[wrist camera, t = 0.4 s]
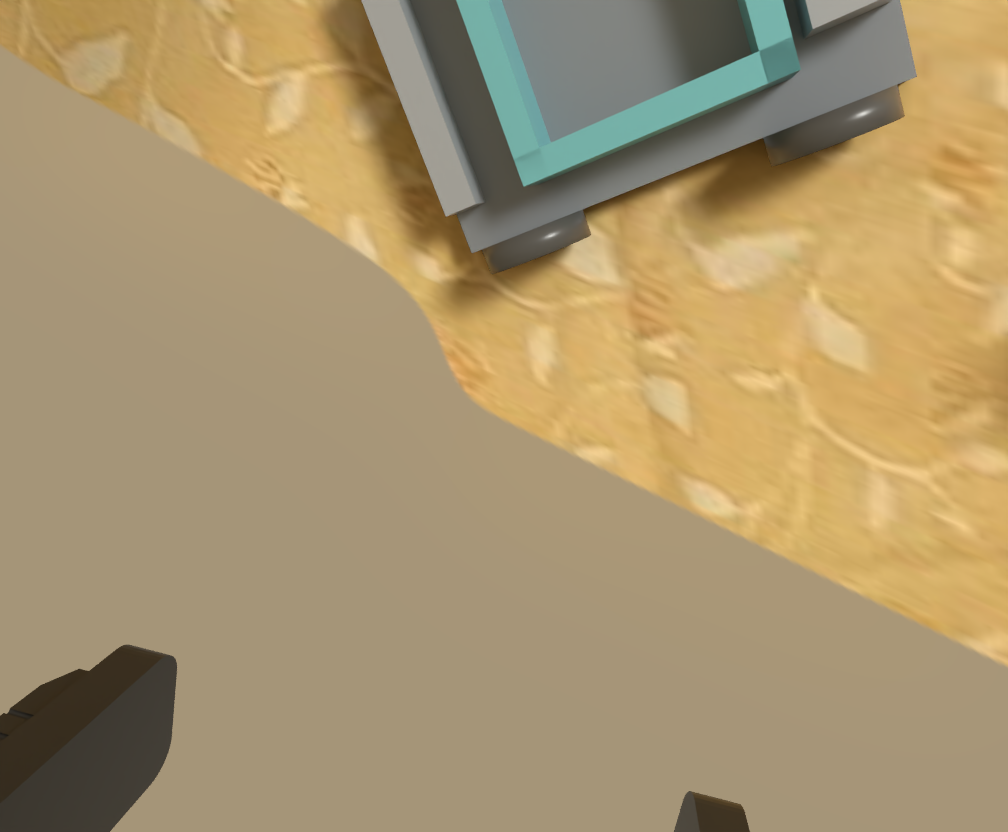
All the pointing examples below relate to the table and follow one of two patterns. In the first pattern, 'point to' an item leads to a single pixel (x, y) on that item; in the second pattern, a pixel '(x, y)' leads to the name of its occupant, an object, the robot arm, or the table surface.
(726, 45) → the chassis
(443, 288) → the table surface
